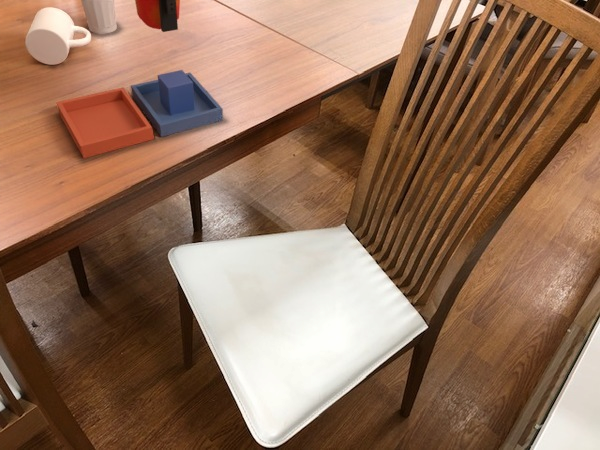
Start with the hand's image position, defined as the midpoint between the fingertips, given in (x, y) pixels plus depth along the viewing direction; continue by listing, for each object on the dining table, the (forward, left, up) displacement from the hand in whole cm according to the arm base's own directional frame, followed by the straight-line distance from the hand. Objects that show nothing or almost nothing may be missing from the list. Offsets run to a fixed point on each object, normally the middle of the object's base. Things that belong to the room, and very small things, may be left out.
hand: (158, 18), depth 89 cm
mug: (-25, -12, -17) cm, 33 cm away
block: (+4, +1, -16) cm, 17 cm away
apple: (0, 0, -1) cm, 1 cm away
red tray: (+4, -13, -17) cm, 22 cm away
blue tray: (+4, +1, -17) cm, 17 cm away
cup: (-34, -1, -17) cm, 38 cm away
